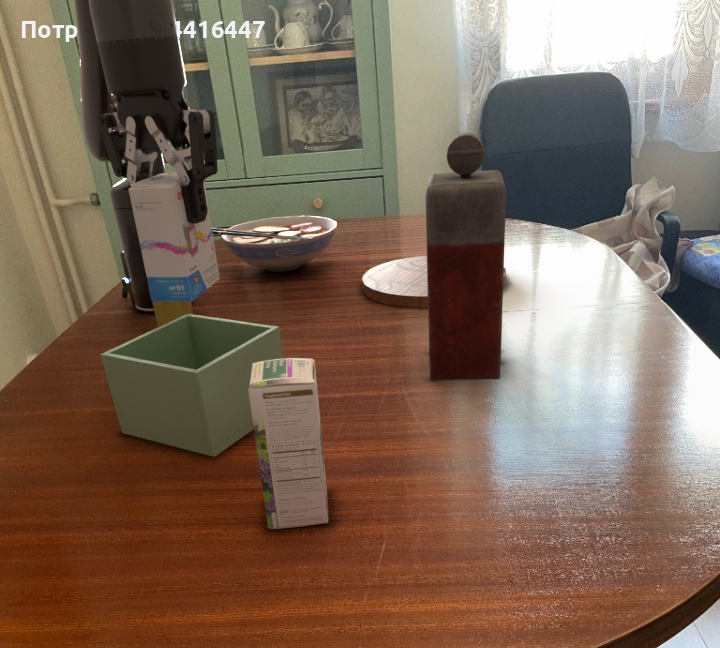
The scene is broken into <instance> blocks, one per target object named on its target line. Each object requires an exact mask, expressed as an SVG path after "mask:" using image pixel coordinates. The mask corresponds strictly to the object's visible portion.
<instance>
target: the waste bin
mask: <svg viewBox="0 0 720 648" xmlns="http://www.w3.org/2000/svg"><path fill="white" fill-rule="evenodd" d="M193 314H194V313H193ZM193 314H186V315H184V316H181V317H179V318H177V319H175V320H173V321H171V322H169V323H167V324H164V325H162V326H160V327H158V328H157V327H155V328H154V329H151V330H150V331H147V332H145V333H143V334H141V335H139V336H136V337H134V338H133V339H130V340H128V341H125V342H124V343H121V344H120V345H118V346H116V347H115V346H114V347H113V348H110V349H109V350H107V351H105V352H103V353H101V354H100V357H101V361H102V365H103V369H104V372H105V375H106V379H107V380H106V381H107V383H108V387H109V391H110V394H111V398H112V401H113V405H114V409H115V412H116V415H117V419H118V423H119V427H120V430H121V433H122V434H124V435H128V436H132V437H136V438H140V439H143V440H148V441H151V442H155V443H159V444H163V445H168V446H169V447H170V446H171V447H174V448H178V449H182V450H186V451H190V452H194V453H198V454H200V455H201V454H202V455H204V456H205V455H206V456H208V457H213V458H215V457H217V456H218V455H220V454H221V453H222V452H224V451H225V450H227V448H229V447H231V446H232V445H234V444H236V442H238V441H239V440H241V439H242V438H244V437H245V436H246V435H248V434H249V433H251V432H252V431H254V427H253V420H252V412H251V406H250V399H249V392H248V390H249V385H250V377H251V370H252V364H253V363H257V362H261V361H267V360H274V359H284V352H283V346H282V339H281V331H280V326H275V325H269V324H262V323H256V322H255V323H254V322H247V321H241V320H233V319H227V318H219V317H214V316H206V315H199V314H194V315H193Z"/></svg>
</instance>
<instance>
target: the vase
mask: <svg viewBox="0 0 720 648" xmlns="http://www.w3.org/2000/svg"><path fill="white" fill-rule="evenodd" d="M153 306H154V311H155V313H154V314H155V321H156V328H158V327H160V326H162V325H164V324H167V323H169V322H171V321H173V320H175V319H177V318H179V317H181V316H184V315H186V314H193V315H195V314H194V311H193V306H192V302H153Z"/></svg>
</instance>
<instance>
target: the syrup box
mask: <svg viewBox="0 0 720 648" xmlns="http://www.w3.org/2000/svg"><path fill="white" fill-rule="evenodd" d="M248 392H249V399H250V406H251V412H252V420H253V427H254V429H253V433H254V440H255V447H256V453H257V460H258V467H259V468H258V469H259V474H260V475H259V476H260V481H261V488H262V489H261V490H262V495H263V501H264V509H265V515H266V523H267V529H269V530H280V529H288V528H297V527H299V528H300V527H307V526H314V525H322V524H328V523H329V522H330V520H329V519H330V517H329V504H328V503H329V502H328V489H327V478H326V476H327V475H326V467H325V466H326V465H325V456H324V445H323V444H324V443H323V432H322V424H321V413H320V404H319V393H318V392H319V391H318V382H317V373H316V363H315V359H313V358H307V357H306V358H305V357H288V358H285V357H284V358H283V359H274V360H267V361H261V362H257V363H253V364H252V370H251V377H250V385H249V390H248Z"/></svg>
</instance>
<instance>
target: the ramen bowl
mask: <svg viewBox="0 0 720 648" xmlns="http://www.w3.org/2000/svg"><path fill="white" fill-rule="evenodd" d="M337 224H338V223H337V221H336V220H333V219H331V218H329V217H323V216H315V215H289V216H276V217H274V216H273V217H268V218H262V219H256V220H250V221H247V222H243V223H239V224H235V225H233V226H230V227H229V228H220V227H219V228H218V227H212V234H213V235H216V236H217V235H218V236H219V235H220V239H221V240H222V241H223V243H224V245H225V246H226V247H227V248H228V249H229V250H230V252H231V253H233V255H235V256H236V257H237V258H238V259H240V260H241V261H242V262H244V263H245V264H247V265H250V266H253V267H257V268H261V269H265V270H266V271H269V272H280V273H281V272H288V271H294V270H296V269H299V268H301V267H302V266H303V265H305V264H307V263H309V262H310V261H312V260H314V259H316V258H317V257H319V256H321V254H322V253H324V251H326V249H327V248H328V246H329V245H330V243H331V241H332V239H333V237H334V235H335V233H336V229H337Z"/></svg>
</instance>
